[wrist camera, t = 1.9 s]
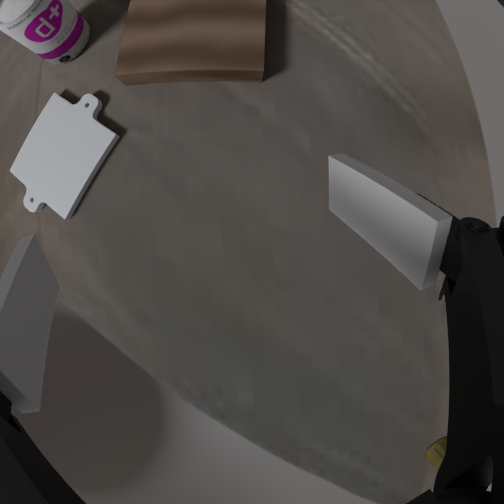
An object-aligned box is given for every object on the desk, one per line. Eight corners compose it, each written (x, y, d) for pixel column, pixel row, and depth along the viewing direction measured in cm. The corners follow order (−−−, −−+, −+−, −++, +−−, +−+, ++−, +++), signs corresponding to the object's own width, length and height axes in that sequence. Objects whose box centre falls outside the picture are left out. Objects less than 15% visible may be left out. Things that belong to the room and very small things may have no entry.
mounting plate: (63, 233, 40) (57, 235, 38) (10, 185, 38) (2, 185, 36) (132, 121, 38) (127, 117, 36) (70, 81, 36) (64, 77, 34)
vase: (446, 453, 49) (476, 494, 35) (422, 462, 49) (451, 506, 35) (453, 433, 48) (487, 474, 34) (429, 442, 48) (461, 487, 34)
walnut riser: (144, -14, 34) (138, -28, 30) (265, -19, 34) (267, -34, 30) (125, 85, 36) (115, 75, 32) (261, 82, 37) (263, 70, 33)
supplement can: (101, 36, 35) (56, -15, 20) (60, 75, 36) (2, 39, 21) (77, 13, 34) (33, -34, 19) (39, 50, 34) (-14, 14, 20)
